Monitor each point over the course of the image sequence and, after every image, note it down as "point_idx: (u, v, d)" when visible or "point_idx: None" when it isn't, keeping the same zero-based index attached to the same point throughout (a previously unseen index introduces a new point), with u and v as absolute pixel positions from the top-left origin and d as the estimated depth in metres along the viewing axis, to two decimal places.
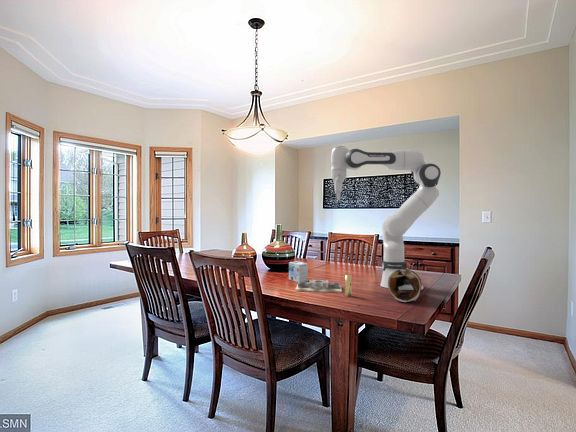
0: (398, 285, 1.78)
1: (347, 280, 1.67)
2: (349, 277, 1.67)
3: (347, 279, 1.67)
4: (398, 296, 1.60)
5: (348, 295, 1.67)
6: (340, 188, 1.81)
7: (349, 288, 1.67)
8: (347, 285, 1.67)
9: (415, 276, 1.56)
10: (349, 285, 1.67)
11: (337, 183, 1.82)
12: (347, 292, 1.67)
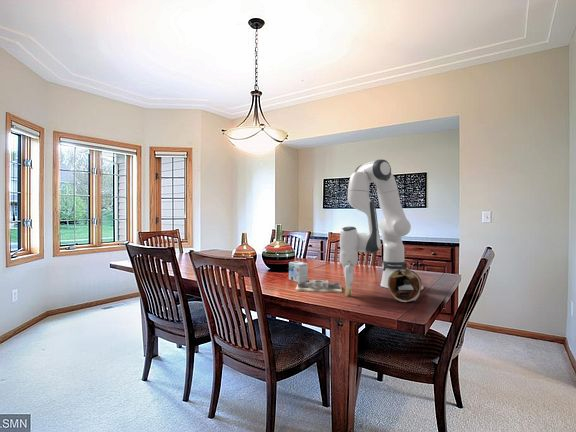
0: (398, 285, 1.78)
1: None
2: None
3: None
4: (398, 296, 1.60)
5: (348, 295, 1.67)
6: (351, 279, 1.58)
7: None
8: None
9: (415, 276, 1.56)
10: None
11: (348, 273, 1.59)
12: (347, 292, 1.67)
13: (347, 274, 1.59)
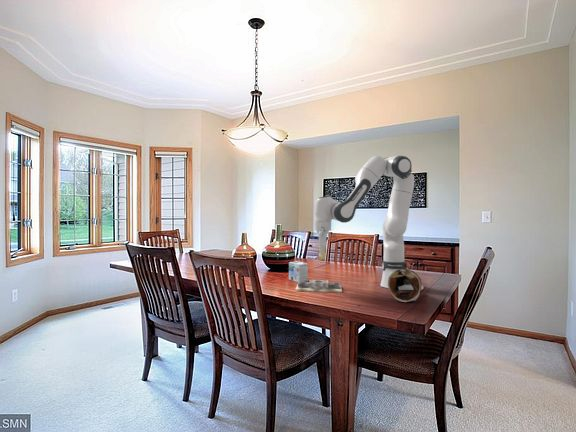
0: (398, 285, 1.78)
1: None
2: None
3: None
4: (398, 296, 1.60)
5: (322, 260, 1.78)
6: (324, 243, 1.69)
7: None
8: None
9: (415, 276, 1.56)
10: None
11: (320, 238, 1.70)
12: (321, 257, 1.78)
13: (320, 238, 1.70)
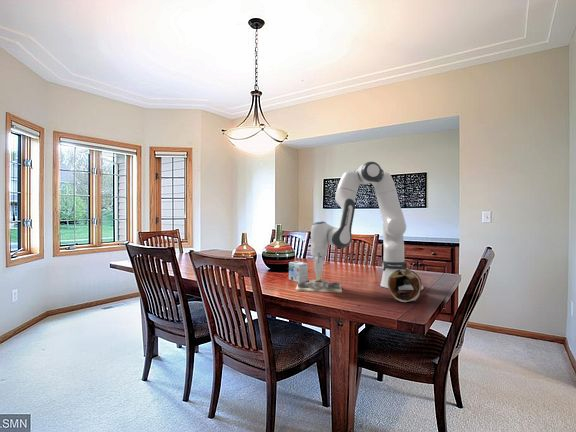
0: (398, 285, 1.78)
1: None
2: None
3: None
4: (398, 296, 1.60)
5: None
6: (320, 269, 1.72)
7: (319, 280, 1.81)
8: None
9: (415, 276, 1.56)
10: None
11: (316, 264, 1.72)
12: None
13: (316, 265, 1.72)
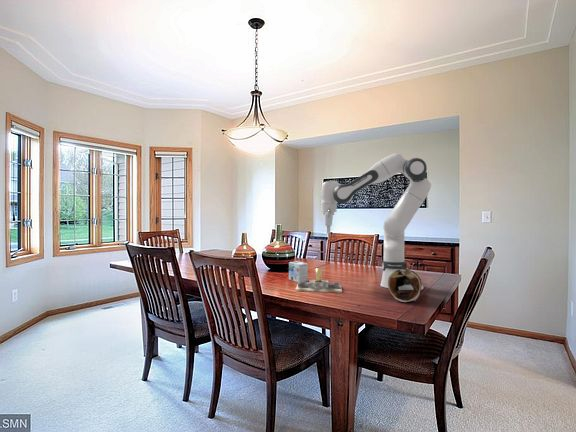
0: (398, 285, 1.78)
1: (318, 272, 1.81)
2: (319, 270, 1.81)
3: (317, 272, 1.81)
4: (398, 296, 1.60)
5: None
6: (330, 223, 1.85)
7: (319, 280, 1.81)
8: (317, 277, 1.81)
9: (415, 276, 1.56)
10: (319, 277, 1.81)
11: (327, 218, 1.85)
12: None
13: (326, 218, 1.85)
